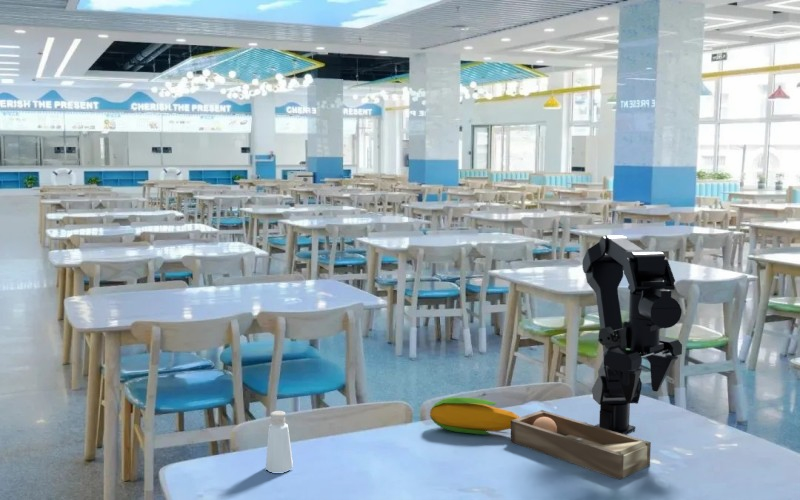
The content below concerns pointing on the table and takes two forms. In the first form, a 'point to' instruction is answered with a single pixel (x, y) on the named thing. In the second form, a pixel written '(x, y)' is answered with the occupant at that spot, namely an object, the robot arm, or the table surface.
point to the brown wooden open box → (583, 444)
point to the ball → (546, 424)
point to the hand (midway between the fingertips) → (642, 395)
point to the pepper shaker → (278, 444)
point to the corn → (470, 415)
